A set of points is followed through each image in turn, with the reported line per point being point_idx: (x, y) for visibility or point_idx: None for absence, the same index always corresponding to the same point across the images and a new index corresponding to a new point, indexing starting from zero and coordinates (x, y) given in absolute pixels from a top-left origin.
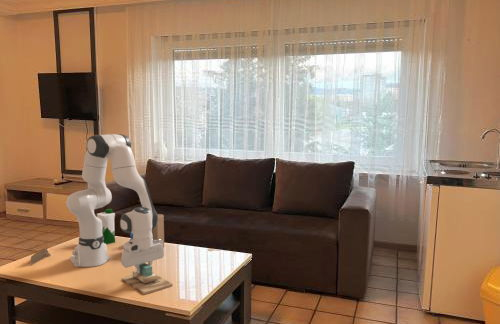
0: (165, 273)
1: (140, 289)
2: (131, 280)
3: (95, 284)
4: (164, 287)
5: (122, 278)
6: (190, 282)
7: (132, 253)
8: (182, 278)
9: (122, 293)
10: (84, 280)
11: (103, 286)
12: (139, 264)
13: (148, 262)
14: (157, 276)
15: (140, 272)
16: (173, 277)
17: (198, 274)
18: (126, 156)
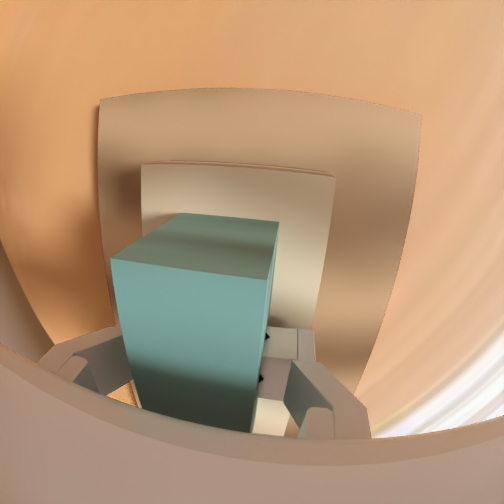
0: (473, 273)
1: (135, 392)
2: (132, 225)
3: (3, 90)
4: None
5: (99, 118)
6: None
7: None
8: (437, 406)
9: (60, 321)
10: (11, 11)
11: (11, 147)
12: (134, 355)
13: (300, 430)
14: (366, 327)
15: None
16: (433, 371)
17: (499, 401)
18: None
